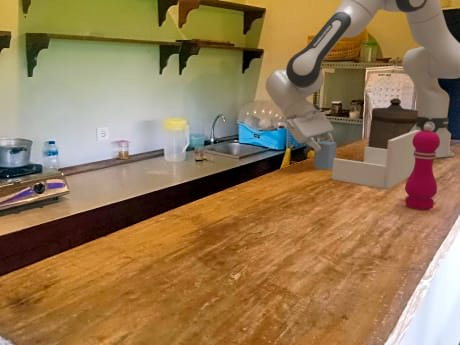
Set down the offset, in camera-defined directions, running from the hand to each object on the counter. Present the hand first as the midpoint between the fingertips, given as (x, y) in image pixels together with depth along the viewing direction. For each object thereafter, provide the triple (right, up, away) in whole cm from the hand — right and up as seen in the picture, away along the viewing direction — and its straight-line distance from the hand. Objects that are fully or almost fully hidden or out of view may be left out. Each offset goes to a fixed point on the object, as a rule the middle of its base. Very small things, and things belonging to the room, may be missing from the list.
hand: (326, 148), depth 149 cm
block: (0, -7, +2) cm, 7 cm away
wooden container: (+25, -4, +15) cm, 29 cm away
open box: (+13, -9, -8) cm, 18 cm away
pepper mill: (+16, -16, -33) cm, 40 cm away
